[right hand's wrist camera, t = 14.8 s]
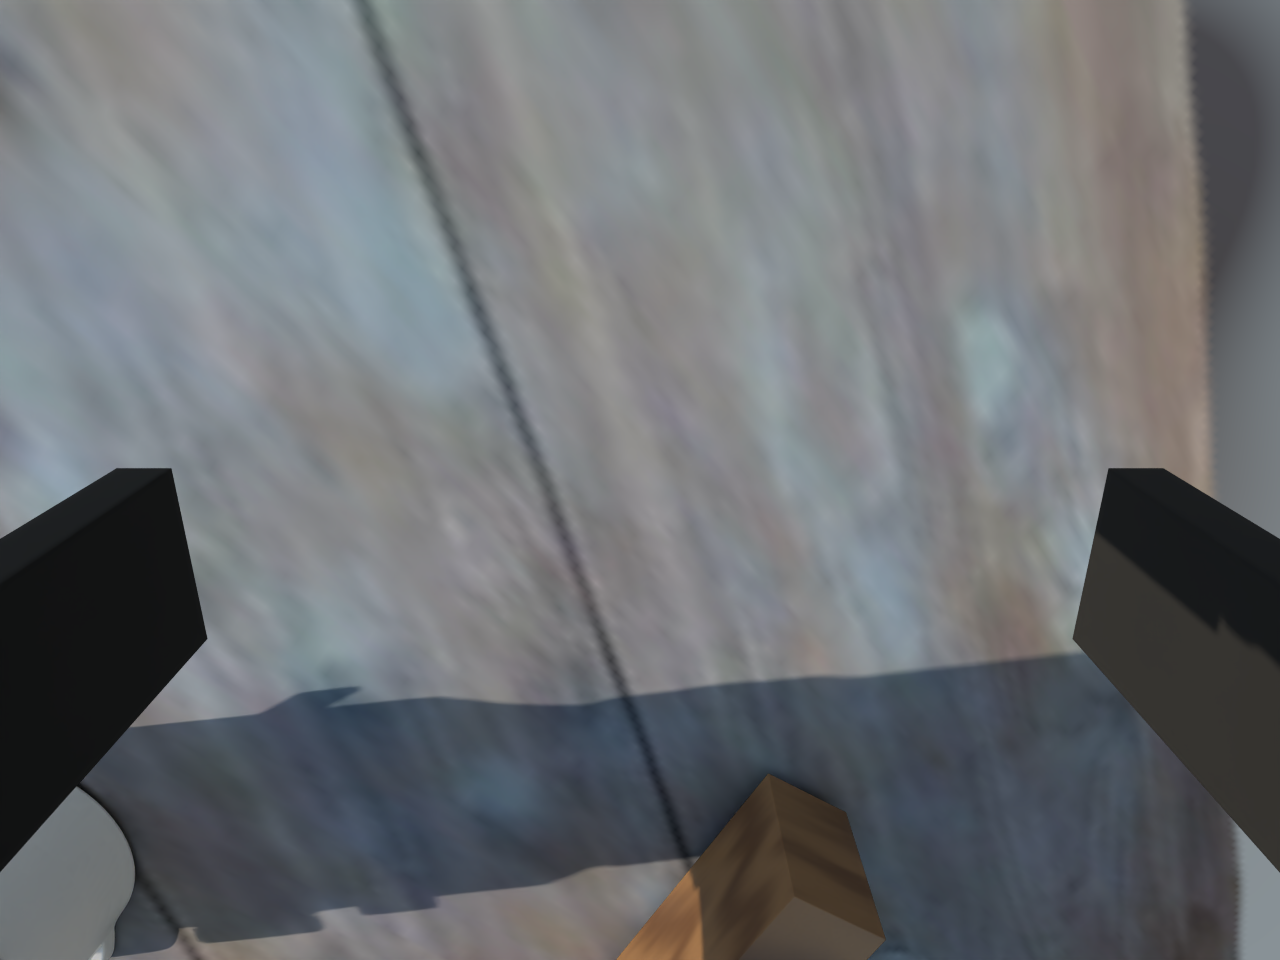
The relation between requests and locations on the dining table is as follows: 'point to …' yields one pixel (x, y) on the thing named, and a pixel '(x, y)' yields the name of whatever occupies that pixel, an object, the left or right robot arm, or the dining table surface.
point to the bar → (770, 889)
